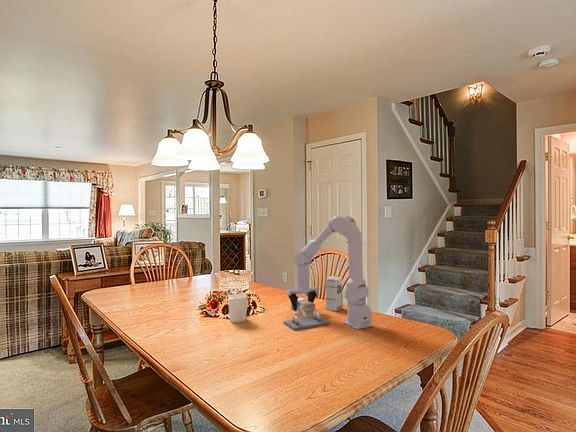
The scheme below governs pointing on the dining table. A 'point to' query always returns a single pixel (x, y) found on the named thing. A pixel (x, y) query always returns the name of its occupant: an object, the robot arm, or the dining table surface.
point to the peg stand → (306, 322)
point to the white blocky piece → (304, 307)
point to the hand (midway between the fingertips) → (302, 309)
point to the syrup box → (334, 293)
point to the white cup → (237, 307)
